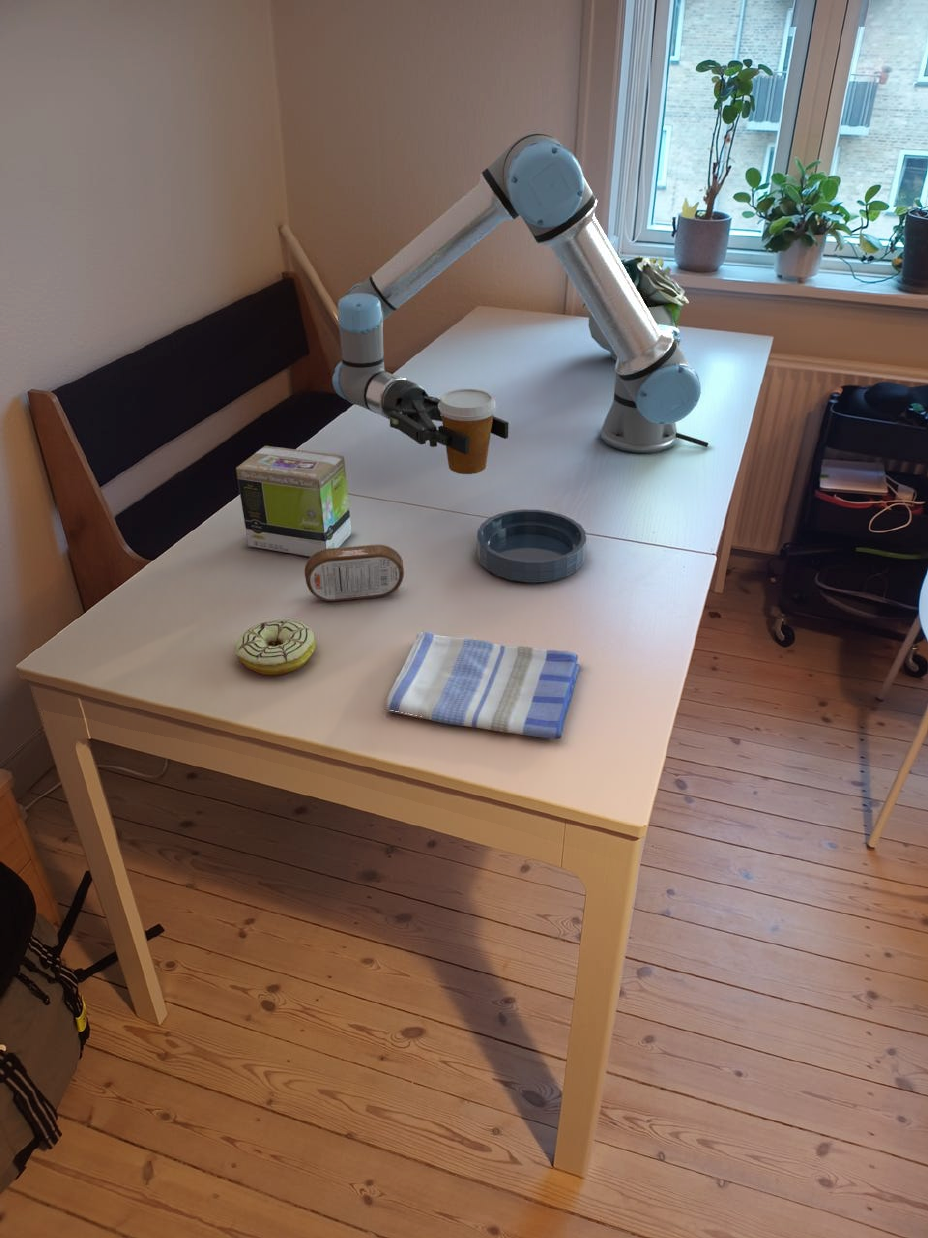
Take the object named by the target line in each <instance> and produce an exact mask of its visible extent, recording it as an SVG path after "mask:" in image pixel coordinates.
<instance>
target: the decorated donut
mask: <svg viewBox="0 0 928 1238" xmlns="http://www.w3.org/2000/svg"><path fill="white" fill-rule="evenodd" d="M315 640H316V639H315V635H314V632H313V630H312V629H311V628H310V627H309V626H307V625H305V623H303V622H302V621H297V620H290V619H279V620H269V621H268V620H267V621H264V622H260V623H259V624H256V625H254V626H251V627H250V628H248V629H247V630H245V631H243V632H242V633H241V634H239V637H237V638H236V642H235V652H234V653H235V656H236V657H238V660H239V662H240V663H241V664H243V665H244V666H245V667H247V669H249V670H251V671H253V672H256V673H258V674H261V675H264V676H265V675H266V676H276V675H285V674H289V673H291V672H294V671H296V670H299V669H300V668H301V667H302V666H304V665H306V663H307V662H308V660H309V659H310V657H311V656H312V655H313V653H314V651H315V648H316V641H315ZM257 671H258V672H257Z"/></svg>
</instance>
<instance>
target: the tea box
mask: <svg viewBox="0 0 928 1238" xmlns="http://www.w3.org/2000/svg"><path fill="white" fill-rule="evenodd" d="M345 463H346V462H345V456H344V455H342V454H333V453H324V452H318V451H317V452H316V451H309V450H303V449H302V450H301V449H294V448H286V447H278V446H270V445H264V446H263V447H261V448H260V449H259V450H257V451H256V452H254V454H252V455H251V456H249V458H247V459H245V460H244V461H243V462H242V463H241V464H239V465H237V466H236V468H235V472H236V478H237V483H238V484H237V485H238V491H239V497H240V502H241V503H240V504H241V509H242V516H243V522H244V528H245V534H246V539H247V545H248V547H251V548H258V549H263V550H268V551H269V550H270V551H275V552H280V553H287V554H291V555H298V556H303V557H304V556H305V557H309V558H310V557H311V556H312V555H314V554H315V553H317V552H318V551H321V550H324V549H328V548H341V546H342V544H344V543H345V541H346V540H347V539H348V538H349V537H350V536H351V534H352V533H351V532H352V527H351V514H350V513H351V512H350V504H349V493H348V483H347V481H348V480H347V471H346V470H347V469H346V464H345Z"/></svg>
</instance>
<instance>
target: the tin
mask: <svg viewBox="0 0 928 1238" xmlns="http://www.w3.org/2000/svg"><path fill="white" fill-rule="evenodd" d="M303 573H304V577H305V584H306V587H307V589H308V591H309V592H310V593H311V594H312V595H313V596H314V597H316V598H317V599H320V600H321V601H326V602H340V601H350V600H351V601H352V600H353V601H354V600H363V599H375V598H383V597H386V596H389V595H391V594H393V593H394V592H396V591H397V590H398V588H400V587H401V585H402V583H403V580H404V575H405V570H404V561H403V558H402V555H400V553H399V552H398V551H397V550H396V549H394V548H392V547H391V546H388V545H385V544H368V545H357V546H356V545H355V546H346V547H345V546H343V547H341V546H340V547H339V548H328V549H324V550H321V551H318V552H317V553H315V554H314V555H312V556H311V557H309V558H308V560H307V561H306V563H305V566H304V572H303Z"/></svg>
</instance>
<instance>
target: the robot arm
mask: <svg viewBox="0 0 928 1238" xmlns="http://www.w3.org/2000/svg"><path fill="white" fill-rule="evenodd" d="M582 171H583V169H582V167H581V165H580V162H579V161H578V159H577V158H576V157H575V155H574V154H573V153H572V152H571V151H570V150H569V149H568V148H567V147H565V146H564V145H563V144H562V142H560V141H559V140H558V139H557V138H556V137H553V136H552V135H550V134H547V133H542V132H533V133H528V134H525V135H523V136H521V137H519V138H518V139H516V140H515V141H514V142H513V143H512V144H510V146H508V147H507V149H505V150H504V151H503V152H502V153H501V154H500V155H499V156H498V157H497V158H496V159H495V160H494V161H493V162H492V163H491V164H490V165H488V167H487V168H485V169H484V170H483V171H482V172H480V174H479V180H478V183H477V184H476V185H475V186H474V187H473V188H472V189H470V190H469V191H468V192H467V193H466V194H464V195H463V196H462V197H461V198H460V199H459V200H458V201H456V202H455V203H454V204H453V205H451V206H450V207H449V208H448V209H447V210H446V211H445V212H444V213H442V214H441V215H440V216H439V217H438V218H437V219H435V220H434V221H433V222H431V224H430V225H428V226H427V227H426V228H425V229H424V230H423V231H421V232H420V233H418V235H417V236H415V237H414V238H413V239H412V240H411V241H409V242H408V243H407V244H406V245H405V246H404V247H402V249H401V250H399V251H398V252H397V253H395V255H393V256H392V257H391V258H390V259H388V261H386V262H385V263H384V264H383V265H382V266H381V267H379V268H378V269H377V270H375V272H373V274H371V275H370V276H369V277H368V278H367V279H365V280H364V281H363V282H359V283H357V284H354V285H353V286H352V287H351V288H350V289H349V290H348V292H347V293H346V295H345V296H343V297H341V298H340V299H339V300H338V303H337V322H338V327H339V337H340V348H341V361H340V362H339V363H338V364H337V365H336V366H335V367H334V372H333V375H332V380H331V381H332V385H333V386H332V387H333V389H334V391H335V393H336V394H337V395H338V396H339V397H341V398H343V399H344V400H346V401H347V402H348V403H350V404H352V405H354V406H358V407H362V408H364V409H366V410H368V411H369V412H372V413H374V414H377V415H379V416H381V417H383V418H386V419H388V420H389V427H390V428H393V429H396V430H398V431H400V432H401V433H403V434H404V435H406V436H407V437H409V438H410V439H412V440H413V441H414V442H416V443H417V444H419V445H426V443H427V441H428V442H429V446H430V447H431V448H434V447H435V448H436V447H437V446H438V444H440V445H441V446H445V447H446V446H448V447H450V448H452V449H454V450H457V451H459V452H461V453H463V454H468V453H469V437H467V436H465V435H462V434H460V433H458V432H455V431H453V430H451V429H448V428H446V427H444V426H443V424H442V425H438V426H436V424H435V423H434V422H433V421H436V422H442V417H441V413H440V411H439V409H438V403H439V402H440V399H441V398H438V397H436V396H430V395H428V393H427V392H426V390H425V389H424V387H423V386H421V385H420V384H418V383H415V382H413V381H411V380H408V379H406V378H403V377H401V376H399V375H395V374H393V373H390V372H389V371H386V370H385V355H384V333H383V332H384V331H383V328H384V321H385V320H386V319H387V318H389V317H390V316H391V315H393V313H394V312H395V311H397V310H398V309H399V308H400V307H401V306H402V305H404V304H406V302H407V301H408V300H410V299H411V298H412V297H414V296H415V295H416V294H417V293H418V292H419V291H421V290H422V289H423V288H425V287H426V286H427V285H428V284H429V283H430V282H431V281H433V280H434V279H435V278H437V276H439V275H440V274H441V273H442V272H443V271H445V270H446V269H448V267H450V266H451V265H453V263H454V262H456V261H457V260H458V259H459V258H460V257H463V255H464V254H465V253H467V252H468V251H470V249H471V248H473V247H474V246H475V245H476V244H477V243H479V242H480V241H481V240H482V239H483V238H485V237H486V236H487V235H488V234H490V233H491V232H492V231H493V230H494V229H496V228H497V227H498V226H499V225H500V224H502V223H503V222H504V221H510V222H514V221H515V220H516V219H517V218H518V217H521V219H522V220H523V222H524V223H525V226H526V228H528V230H529V232H530V233H531V235H532V236H533V238H534V240H535V241H536V243H537V244H538V245H544V246H548V247H550V248H551V250H552V252H553V253H554V255H555V257H556V258H557V260H558V262H559V263H560V265H561V266H562V268H563V270H564V271H565V273H566V275H567V276H568V278H569V279H570V281H571V283H572V285H573V286H574V288H575V290H576V291H577V294H579V296H580V298H581V300H582V301H583V304H584V303H585V304H586V305H585V306H586V308H587V309H588V312H590V313H591V314H592V316H593V318H594V319H595V321H596V322H597V324H598V326H599V327H600V329H601V331H602V332H603V334H604V336H605V337H606V339H607V341H608V342H609V344H610V346H611V347H612V349H613V351H614V352H615V354H616V355H617V361H615V365H614V370H615V378H614V379H615V380H614V391H613V399H612V402H611V405H610V408H609V410H608V413H607V414H606V417H605V419H604V422H603V424H602V427H601V435H600V436H601V439H602V441H603V442H604V443H605V444H606V445H607V446H609V447H611V448H614V449H617V450H619V451H622V452H623V451H624V452H628V453H635V454H636V453H637V454H652V453H658V452H663V451H666V450H669V449H670V448H672V447H674V446H675V444H676V442H677V439H679V440H683V441H686V442H689V443H692V444H696V445H697V446H701V447H705V448H708V446H709V442H707V441H704V440H702V439H698V438H695V437H692V436H689V435H686V434H682V433H679V432H678V430H677V429H678V428H677V424H676V423H678V422H680V421H682V420H683V419H685V418H686V417H688V416H689V415H690V414H691V413H692V412H693V410H694V409H696V406H697V404H698V402H699V400H700V397H701V393H702V392H701V391H702V387H701V382H700V378H699V375H698V373H697V372H696V370H695V369H693V367H691V365H690V364H689V362H688V360H687V358H686V357H685V356H686V355H684V353H683V351H682V350H681V348H680V343H681V341H682V340H681V332H680V329H678V327H677V328H675V327H672V326H668V325H660V324H656V323H655V321H654V320H653V318H652V316H651V314H650V313H649V311H648V309H647V307H646V306H645V304H644V302H643V300H642V299H641V297H640V295H639V293H638V292H637V290H636V288H635V286H634V285H633V283H632V281H631V279H630V278H629V276H628V274H627V272H626V270H625V269H624V267H623V265H622V263H621V262H620V260H621V259H620V258H619V256H618V254H617V253H616V251H615V250H614V248H613V246H612V245H611V242H610V241H609V239H608V237H607V235H606V233H605V232H604V230H603V228H602V226H601V224H600V223H599V221H598V220H597V218H596V216H595V212H596V208H597V203H598V200H597V198H596V197H595V195H594V192H593V191H592V189H591V188H590V185H589V183H588V182H587V180H586V179H585V177H584V173H583V172H582ZM509 425H510V424H509V421H506V420H503V419H501V418H499V417H497V416H494V415H493V421H492V428H491V435H494V436H497V437H499V438H501V439H504V440H507V439H509Z"/></svg>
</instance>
